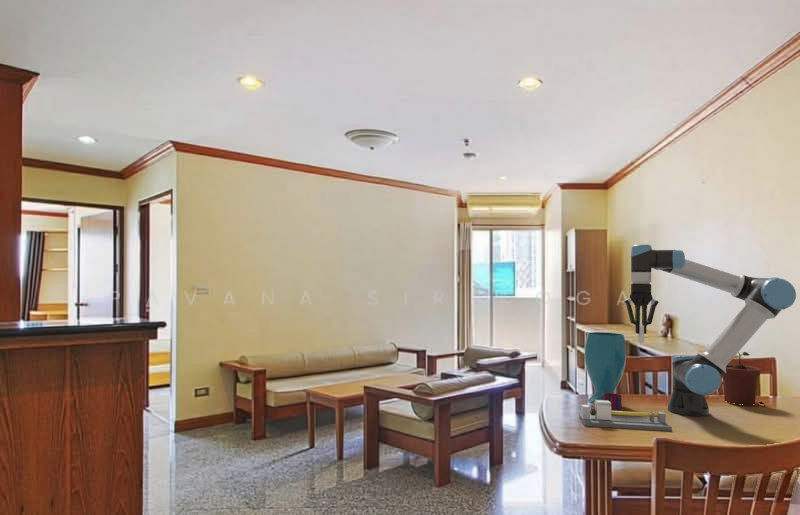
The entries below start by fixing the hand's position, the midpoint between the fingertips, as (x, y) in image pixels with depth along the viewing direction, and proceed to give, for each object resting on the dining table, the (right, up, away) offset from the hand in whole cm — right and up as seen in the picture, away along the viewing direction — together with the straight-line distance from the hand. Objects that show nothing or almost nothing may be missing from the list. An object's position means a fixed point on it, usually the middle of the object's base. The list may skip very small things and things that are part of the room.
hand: (640, 341), depth 217 cm
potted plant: (+58, -32, +28) cm, 72 cm away
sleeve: (-20, -27, -13) cm, 36 cm away
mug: (-11, -30, +5) cm, 32 cm away
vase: (-6, -30, +22) cm, 38 cm away
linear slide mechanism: (-13, -29, -14) cm, 34 cm away
